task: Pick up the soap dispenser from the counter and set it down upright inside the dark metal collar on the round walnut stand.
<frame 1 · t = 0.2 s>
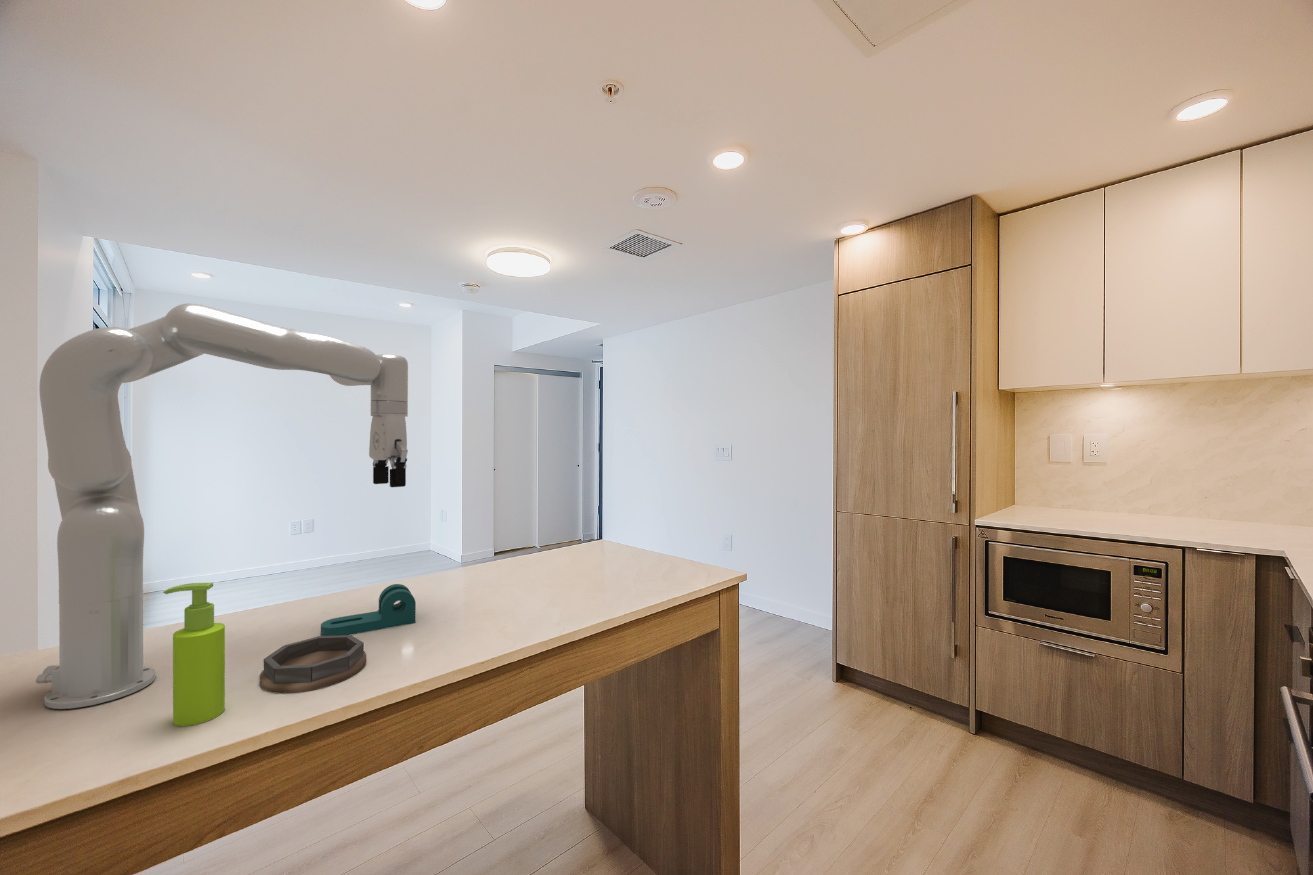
hand: (389, 485, 118), 31 cm above the counter, tool pointing down, fingers open, 9 cm apart
bracket: (368, 628, 115), on the counter
soap dispenser: (195, 717, 79), on the counter
collar stand: (315, 671, 94), on the counter
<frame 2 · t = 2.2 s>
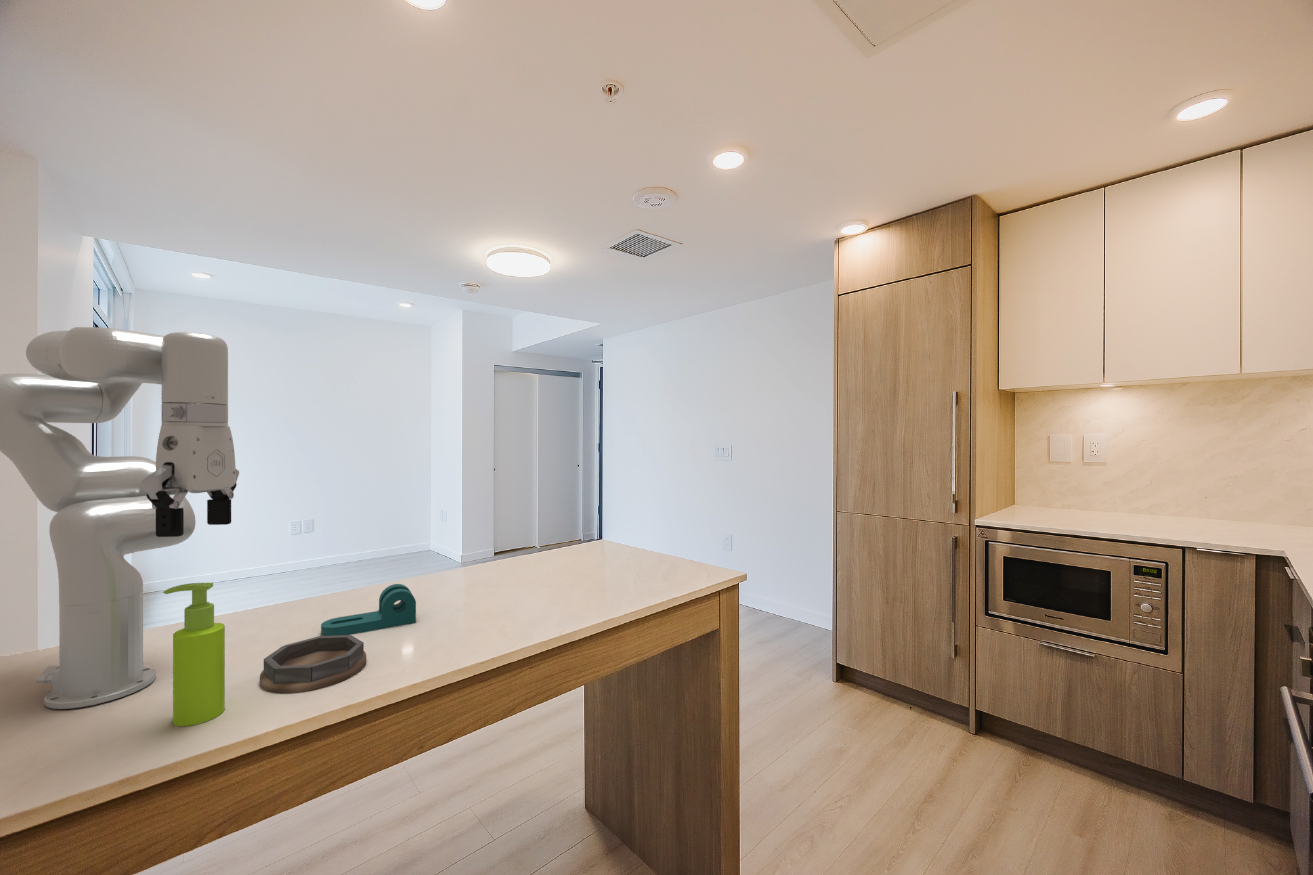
hand: (196, 529, 78), 28 cm above the counter, tool pointing down, fingers open, 9 cm apart
nothing on the counter moved.
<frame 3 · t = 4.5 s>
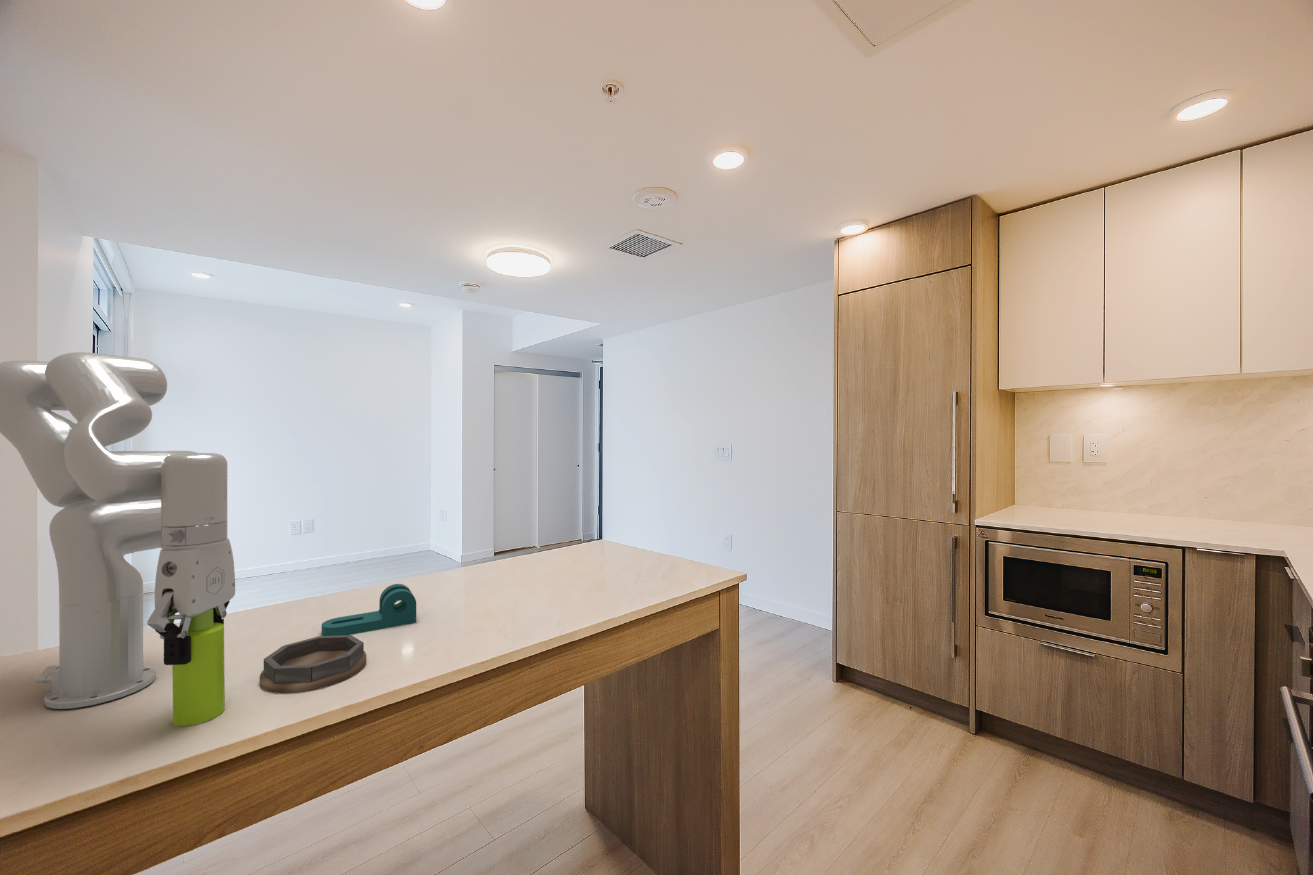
hand: (195, 652, 79), 10 cm above the counter, tool pointing down, fingers closed on soap dispenser, 5 cm apart
soap dispenser: (195, 717, 79), on the counter, touching gripper
everything else where it was.
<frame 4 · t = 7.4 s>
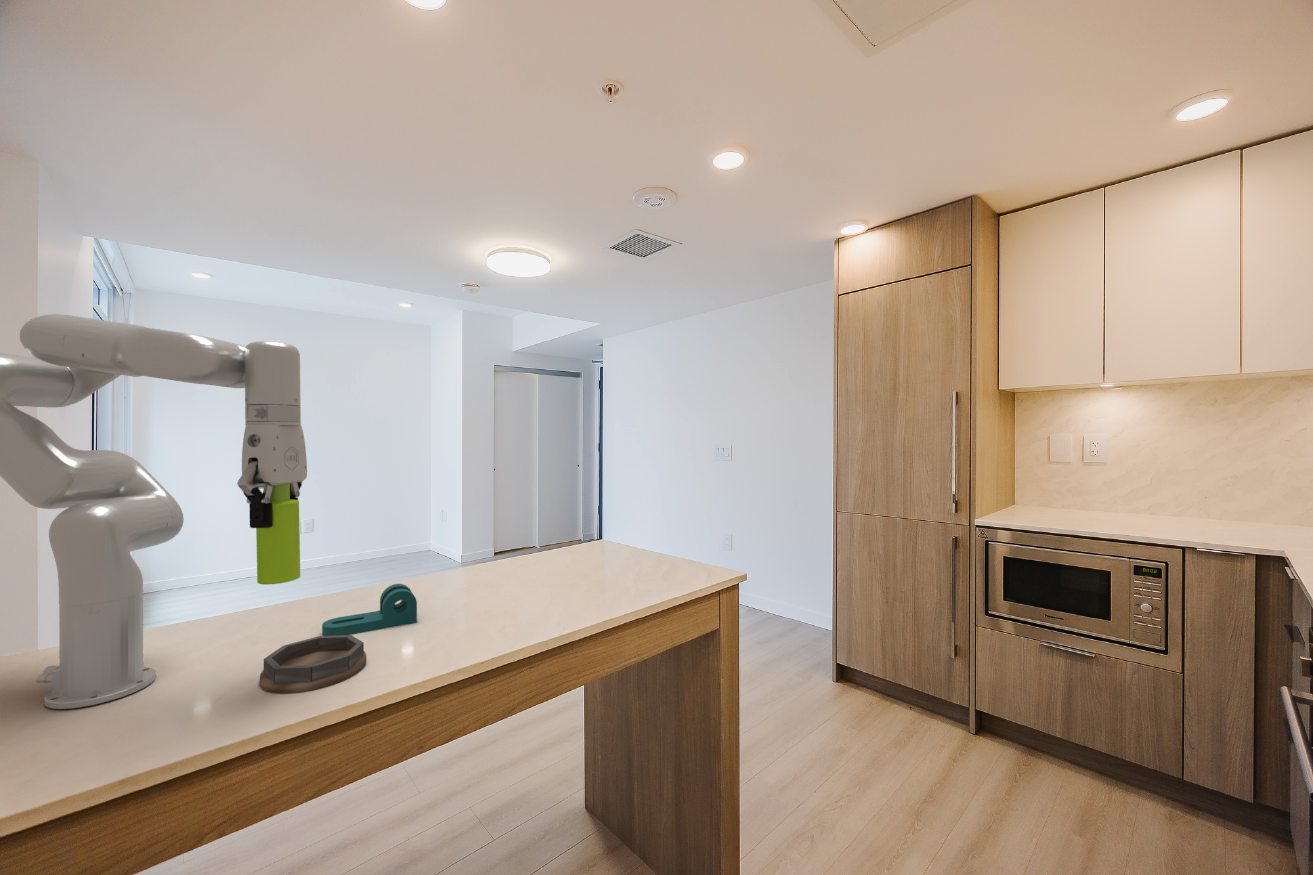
hand: (274, 522, 87), 28 cm above the counter, tool pointing down, fingers closed on soap dispenser, 5 cm apart
soap dispenser: (275, 580, 88), point 18 cm above the counter, touching gripper
everything else where it was.
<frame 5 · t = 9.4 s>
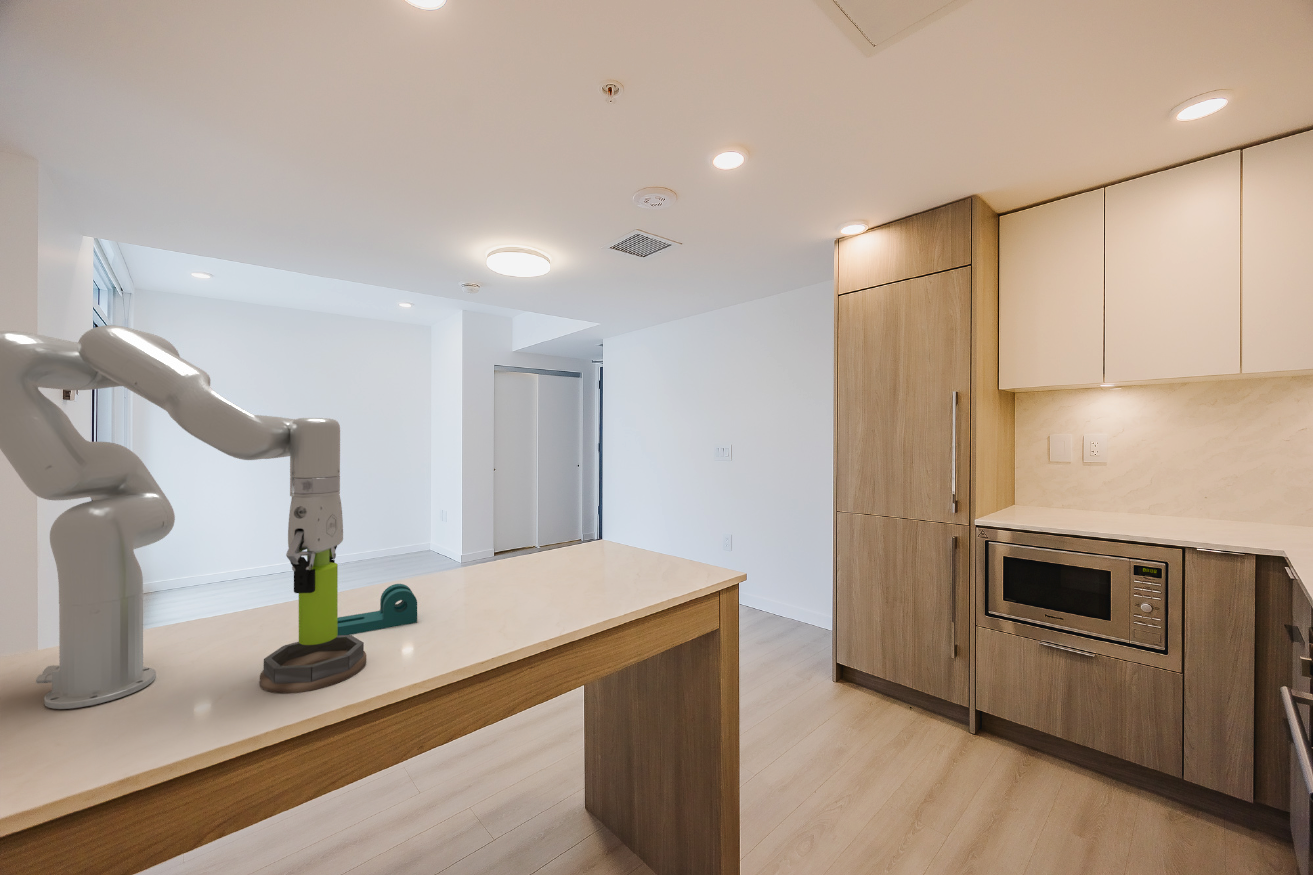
hand: (314, 585, 93), 15 cm above the counter, tool pointing down, fingers closed on soap dispenser, 5 cm apart
soap dispenser: (315, 639, 94), point 6 cm above the counter, touching gripper
everything else where it was.
when the fingers open (12 cm above the counter, at t = 10.7 s): soap dispenser stays where it is, resting on collar stand.
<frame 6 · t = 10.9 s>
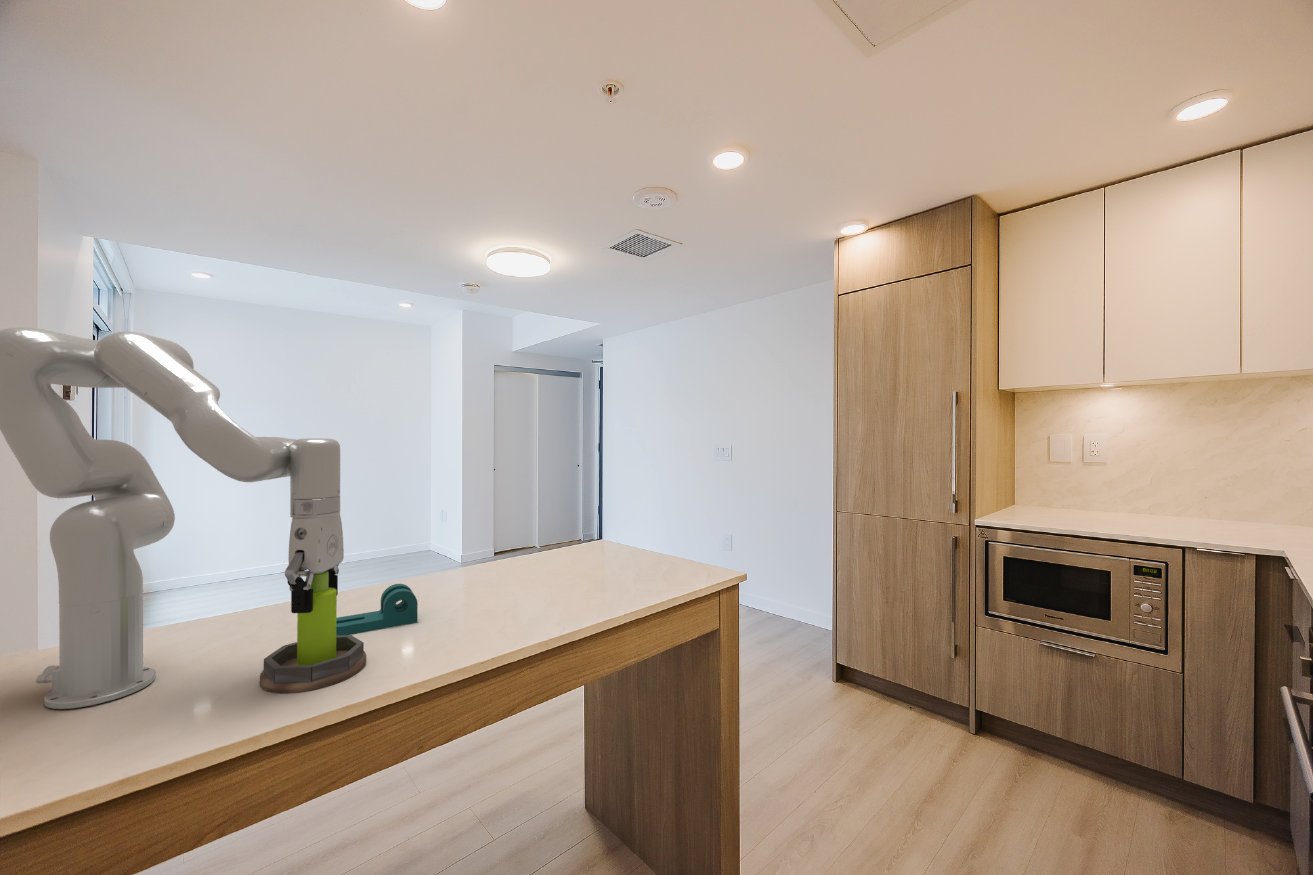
hand: (315, 603, 94), 12 cm above the counter, tool pointing down, fingers open, 8 cm apart
soap dispenser: (313, 666, 93), point 1 cm above the counter, touching collar stand
everything else where it was.
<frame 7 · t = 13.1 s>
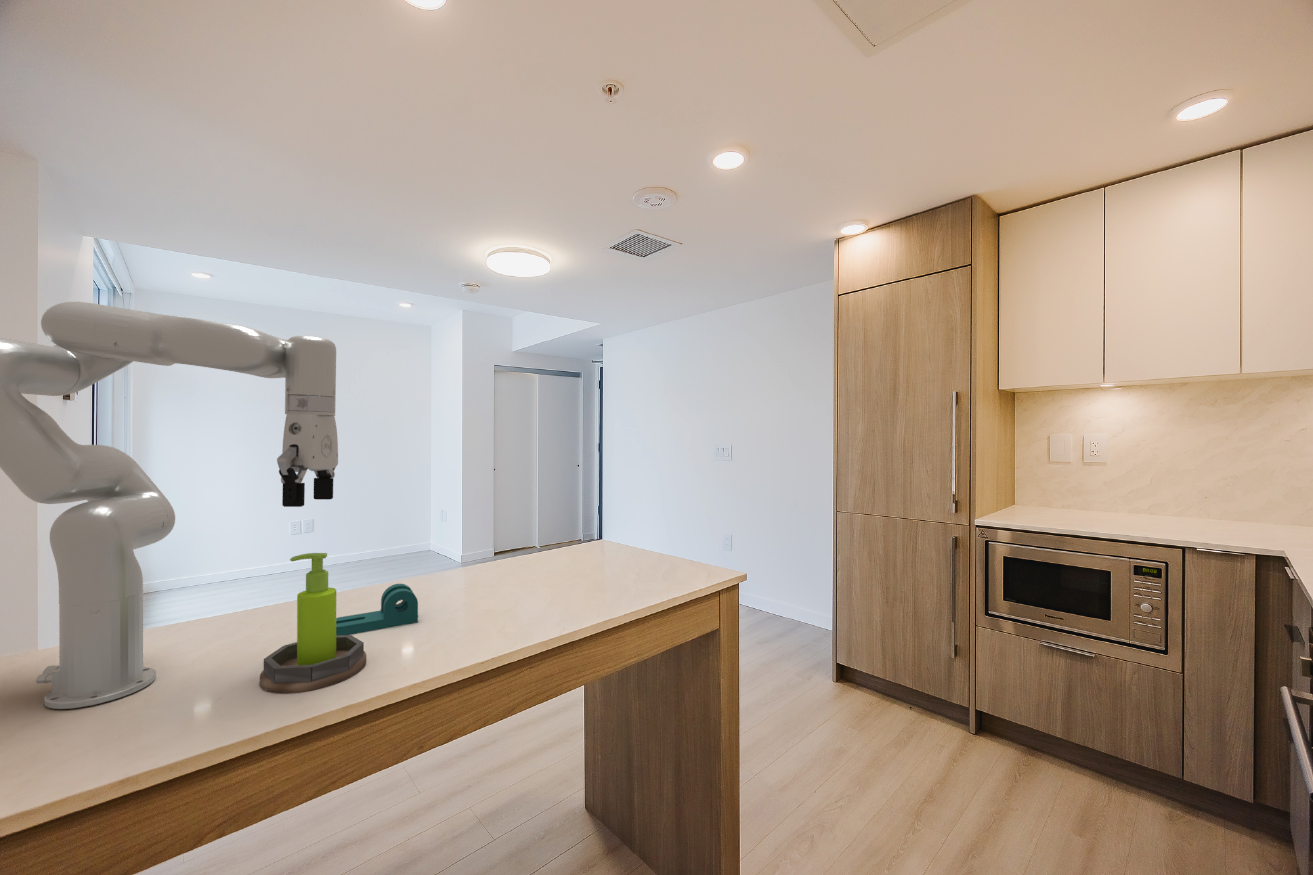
hand: (309, 502, 93), 30 cm above the counter, tool pointing down, fingers open, 9 cm apart
nothing on the counter moved.
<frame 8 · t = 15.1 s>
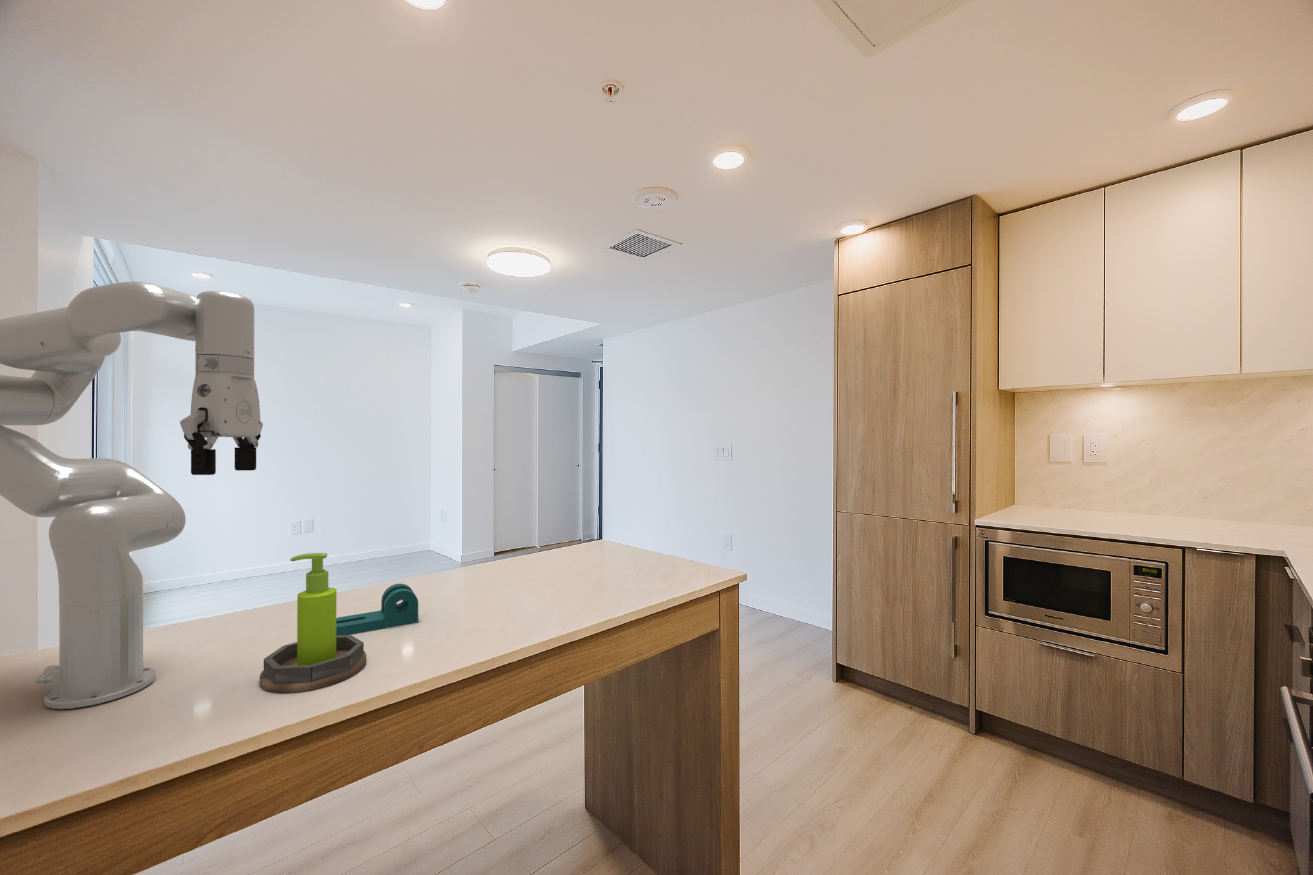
hand: (225, 472, 86), 36 cm above the counter, tool pointing down, fingers open, 9 cm apart
nothing on the counter moved.
at the end: soap dispenser 0.4 cm off-centre on the collar stand, point 1.0 cm above the collar stand's base; soap dispenser tilted 0°; the gripper is holding nothing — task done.
